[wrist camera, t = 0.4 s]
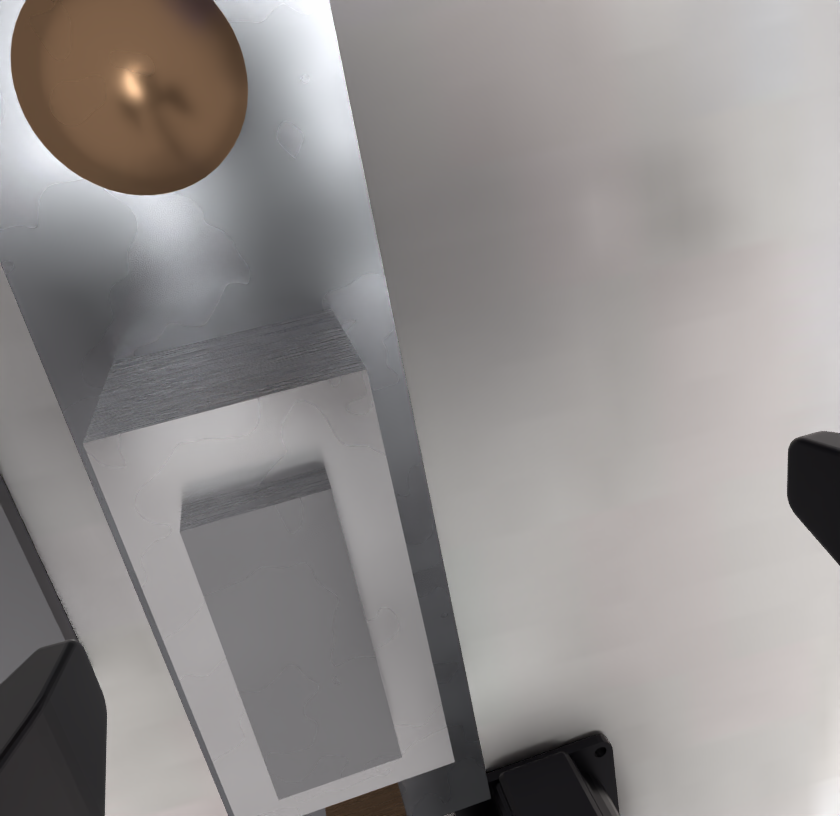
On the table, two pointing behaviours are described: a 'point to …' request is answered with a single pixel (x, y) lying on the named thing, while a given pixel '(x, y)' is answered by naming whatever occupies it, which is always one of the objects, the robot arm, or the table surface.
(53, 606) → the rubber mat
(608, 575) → the table surface
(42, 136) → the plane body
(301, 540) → the grey rectangular block
